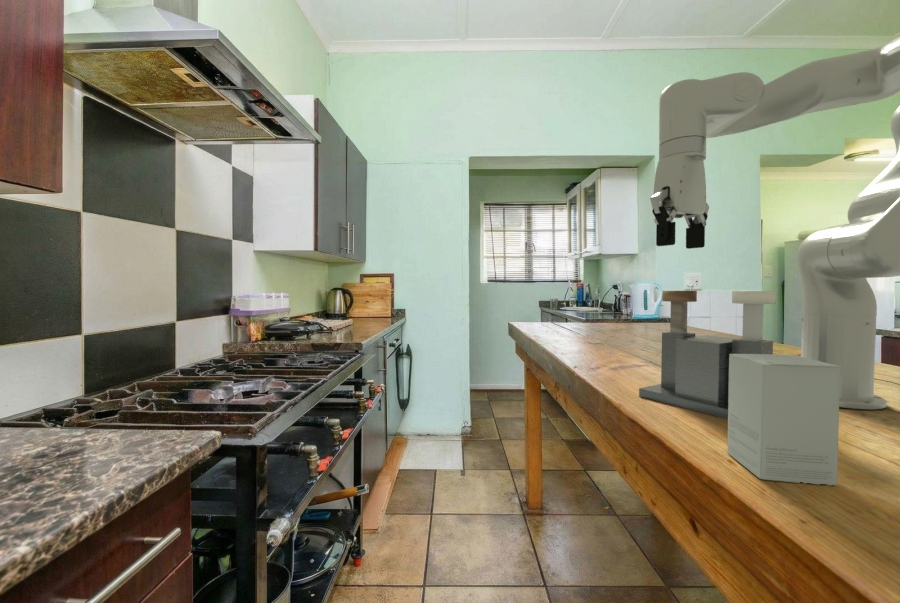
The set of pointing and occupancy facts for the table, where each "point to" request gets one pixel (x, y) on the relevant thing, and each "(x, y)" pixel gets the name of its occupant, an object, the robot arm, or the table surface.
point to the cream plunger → (753, 311)
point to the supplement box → (784, 417)
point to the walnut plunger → (679, 308)
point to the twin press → (699, 371)
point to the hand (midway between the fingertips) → (680, 246)
